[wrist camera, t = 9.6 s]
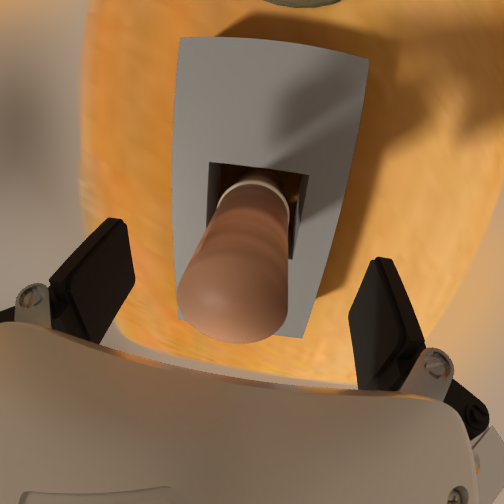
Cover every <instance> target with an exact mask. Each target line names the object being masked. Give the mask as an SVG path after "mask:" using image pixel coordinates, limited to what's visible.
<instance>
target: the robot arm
mask: <svg viewBox="0 0 504 504" xmlns="http://www.w3.org/2000/svg"><path fill="white" fill-rule="evenodd" d="M49 282H50V284H51V285H50V286H49V287H47V286H46V285H44V284H42V283H35V284H31V285H28V286H27V287H25V288H24V289H22V290H21V291H20V293H19V294H18V296H17V297H16V301H15V306H14V307H11V308H8V309H6V310H3V311H0V504H492V503H493V501H494V500H495V499H496V497H497V496H498V494H499V493H500V492H501V490H502V489H503V488H504V442H503V440H502V439H501V437H500V436H499V434H498V433H497V431H496V430H495V428H494V427H493V426H491V427H489V426H488V424H489V413H488V410H487V408H486V406H485V405H484V404H483V403H482V402H481V401H480V400H479V399H478V398H476V397H475V396H474V395H473V394H472V393H470V392H469V391H468V390H467V389H465V388H464V387H462V385H460V384H459V383H458V382H457V381H455V380H454V379H453V375H454V366H453V363H452V361H451V359H450V358H449V356H448V355H447V354H445V352H443V351H442V350H440V349H437V348H427V349H426V346H425V343H424V342H425V340H424V337H423V334H422V331H421V329H420V326H419V323H418V320H417V318H416V315H415V313H414V310H413V307H412V305H411V302H410V300H409V297H408V295H407V293H406V290H405V288H404V285H403V283H402V281H401V278H400V276H399V274H398V272H397V269H396V267H395V265H394V263H393V261H392V259H389V258H383V257H376V259H375V260H371V261H370V264H369V266H368V269H367V271H366V274H365V276H364V278H363V281H362V283H361V286H360V288H359V290H358V293H357V295H356V297H355V300H354V302H353V304H352V306H351V309H350V311H349V316H348V320H349V326H350V333H351V339H352V346H353V352H354V359H355V367H356V375H357V383H358V390H351V389H334V388H319V387H305V386H295V385H285V384H277V383H269V382H261V381H254V380H247V379H240V378H234V377H229V376H223V375H217V374H212V373H207V372H202V371H197V370H192V369H187V368H182V367H178V366H174V365H170V364H166V363H162V362H157V361H154V360H150V359H146V358H142V357H139V356H135V355H131V354H128V353H125V352H121V351H118V350H114V349H111V348H108V347H104V346H102V345H99V344H100V342H101V340H102V338H103V337H104V335H105V333H106V331H107V330H108V328H109V326H110V324H111V323H112V321H113V319H114V318H115V316H116V314H117V312H118V311H119V309H120V307H121V306H122V304H123V302H124V301H125V299H126V297H127V296H128V294H129V293H130V291H131V289H132V288H133V286H134V284H135V273H134V268H133V262H132V256H131V250H130V244H129V237H128V230H127V225H126V224H125V223H124V222H123V220H122V219H116V218H107V219H106V220H105V221H104V222H103V223H102V224H101V225H100V226H99V227H98V228H97V229H96V230H95V231H94V232H93V233H92V234H91V235H90V236H89V237H88V238H87V239H86V240H85V241H84V242H83V243H82V244H81V245H80V246H79V247H78V248H77V249H76V250H75V251H74V252H73V253H72V254H71V255H70V257H69V258H68V259H67V260H66V261H65V262H64V263H63V264H62V266H60V268H59V269H58V270H57V271H56V272H55V273H54V274H53V276H52V277H51V278H50V279H49Z"/></svg>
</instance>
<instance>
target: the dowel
mask: <svg viewBox="0 0 504 504" xmlns="http://www.w3.org/2000/svg"><path fill="white" fill-rule="evenodd" d="M288 225H289V206H288V203H287V201H286V199H285V197H284V195H283V187H282V183H281V181H280V179H279V178H278V177H277V175H276V174H274V173H273V172H272V171H270V170H268V169H264V168H252V169H249V170H247V171H245V172H244V173H243V174H241V176H240V177H239V178H238V180H237V182H236V183H235V184H233V185H232V186H230V187H229V188H228V189H227V190H226V191H225V192H224V193H223V195H222V197H221V198H220V200H219V203H218V205H217V210H216V211H215V213H214V215H213V217H212V219H211V221H210V223H209V225H208V227H207V228H206V230H205V232H204V234H203V236H202V238H201V240H200V242H199V244H198V246H197V248H196V250H195V252H194V254H193V256H192V258H191V260H190V262H189V264H188V266H187V268H186V270H185V272H184V274H183V276H182V278H181V280H180V282H179V285H178V287H177V303H178V306H179V309H180V311H181V313H182V315H183V316H184V318H185V319H186V320H187V321H188V323H189V324H190V325H192V326H193V327H194V328H195V329H196V330H198V331H199V332H201V333H202V334H204V335H206V336H208V337H210V338H213V339H215V340H219V341H222V342H227V343H234V344H245V343H253V342H257V341H261V340H263V339H266V338H268V337H270V336H271V335H273V334H274V333H276V332H277V331H278V330H279V329H280V328H281V326H282V325H283V324H284V322H285V320H286V317H287V313H288Z"/></svg>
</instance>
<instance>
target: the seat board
mask: <svg viewBox="0 0 504 504" xmlns="http://www.w3.org/2000/svg"><path fill="white" fill-rule="evenodd" d="M369 62H370V59H367V58H363V57H359V56H356V55H352V54H348V53H344V52H339V51H335V50H330V49H326V48H321V47H315V46H310V45H304V44H298V43H291V42H284V41H275V40H266V39H254V38H238V37H184V38H180V43H179V52H178V62H177V73H176V86H175V100H174V118H173V144H172V221H173V248H174V267H175V282H176V296H177V287H178V285H179V282H180V280H181V278H182V276H183V274H184V272H185V270H186V268H187V266H188V264H189V262H190V260H191V258H192V256H193V254H194V252H195V250H196V248H197V246H198V244H199V242H200V240H201V238H202V236H203V234H204V232H205V230H206V228H207V227H208V225H209V223H210V221H211V219H212V217H213V215H214V213H215V211H216V210H217V205H218V203H219V197H220V181H221V167H222V163H225V164H235V165H243V166H251V167H259V168H267V169H274V170H281V171H287V172H294V173H300V174H302V176H301V182H300V188H299V193H298V199H297V204H296V210H295V215H294V220H293V225H292V231H290V230H288V313H287V317H286V320H285V322H284V324H283V325H282V326H281V328H280V329H279V330H278V331H277V332H276V333H274V334H273V335H278V336H286V337H295V338H302V337H303V334H304V331H305V329H306V326H307V323H308V320H309V317H310V314H311V311H312V308H313V305H314V301H315V298H316V295H317V292H318V289H319V286H320V282H321V279H322V276H323V272H324V269H325V266H326V262H327V259H328V255H329V252H330V248H331V245H332V241H333V237H334V234H335V230H336V226H337V223H338V219H339V215H340V211H341V207H342V203H343V199H344V195H345V191H346V186H347V182H348V178H349V173H350V169H351V164H352V160H353V155H354V150H355V145H356V140H357V135H358V130H359V125H360V119H361V114H362V108H363V102H364V96H365V90H366V83H367V76H368V69H369ZM177 308H178V319H179V320H184V321H187V320H186V319H185V318H184V316H183V315H182V313H181V311H180V309H179V306H178V303H177Z"/></svg>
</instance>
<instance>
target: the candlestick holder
mask: <svg viewBox="0 0 504 504" xmlns="http://www.w3.org/2000/svg"><path fill="white" fill-rule="evenodd" d="M265 1H268V2H271V3H273V4H276V5H281V6H288V7H294V8H315V7H319V6H324V5H330V4H333V3H335V2H337V1H340V0H265Z"/></svg>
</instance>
